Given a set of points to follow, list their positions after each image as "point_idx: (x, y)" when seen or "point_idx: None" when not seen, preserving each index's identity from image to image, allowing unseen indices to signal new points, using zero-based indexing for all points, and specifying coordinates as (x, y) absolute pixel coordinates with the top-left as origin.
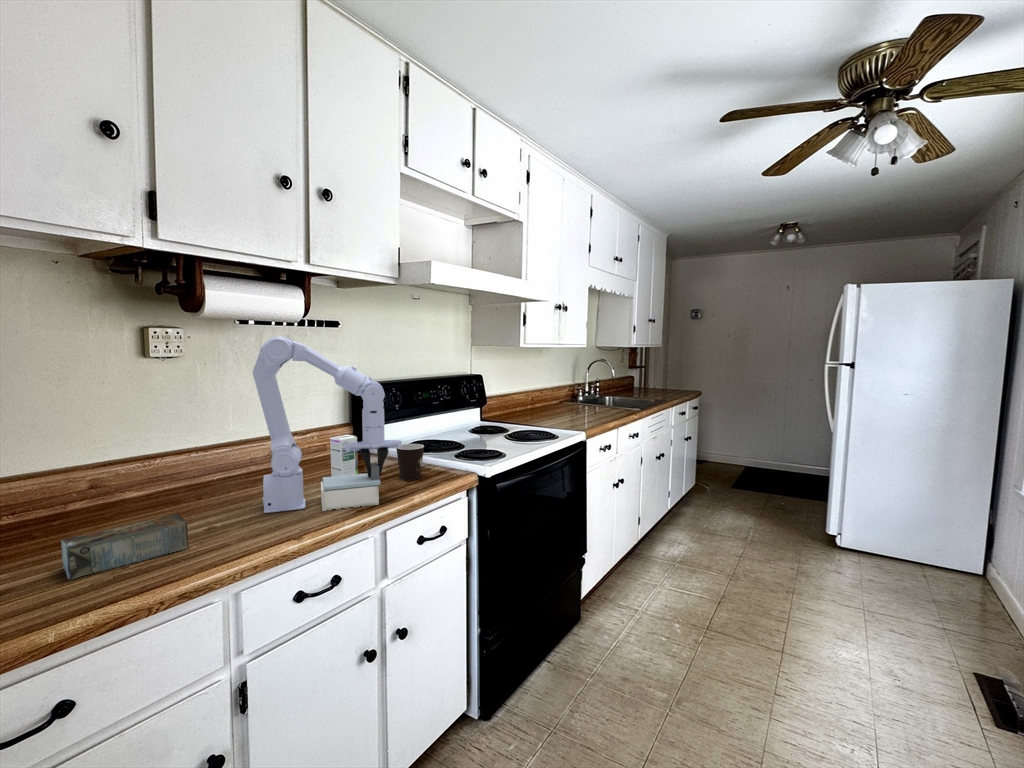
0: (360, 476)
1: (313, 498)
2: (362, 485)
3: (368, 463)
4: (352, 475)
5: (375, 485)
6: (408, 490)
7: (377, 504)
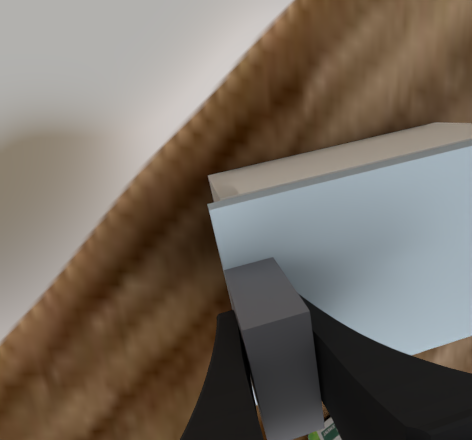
0: None
1: None
2: (322, 177)
3: (348, 348)
4: None
5: None
6: (93, 359)
7: (213, 174)
